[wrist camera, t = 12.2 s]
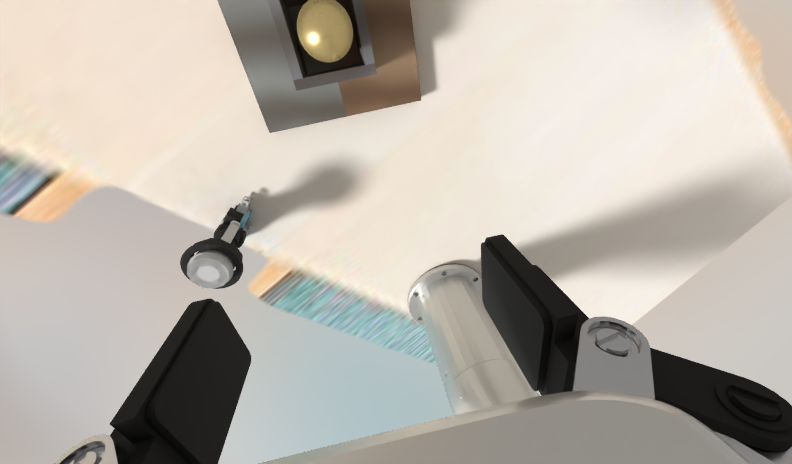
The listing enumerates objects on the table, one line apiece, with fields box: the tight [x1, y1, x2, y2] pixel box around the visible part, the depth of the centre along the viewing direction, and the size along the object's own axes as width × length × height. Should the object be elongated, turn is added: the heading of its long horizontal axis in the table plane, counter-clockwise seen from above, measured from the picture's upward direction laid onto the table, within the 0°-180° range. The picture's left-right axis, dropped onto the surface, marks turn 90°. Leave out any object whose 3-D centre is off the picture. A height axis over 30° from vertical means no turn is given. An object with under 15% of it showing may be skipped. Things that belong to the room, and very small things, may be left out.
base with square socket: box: [218, 0, 421, 133], centre depth 26 cm, size 14×16×6 cm
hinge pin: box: [297, 0, 353, 62], centre depth 23 cm, size 4×4×9 cm
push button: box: [180, 196, 251, 289], centre depth 32 cm, size 7×5×10 cm
